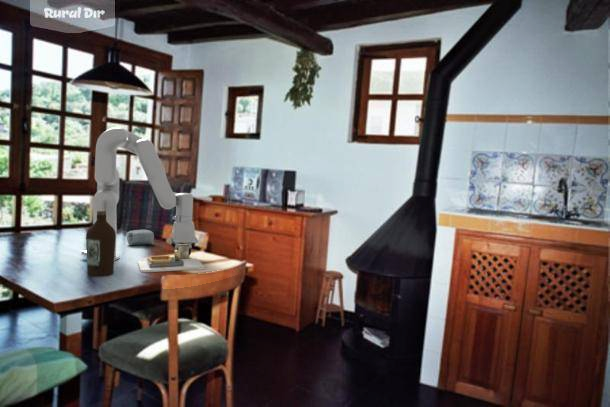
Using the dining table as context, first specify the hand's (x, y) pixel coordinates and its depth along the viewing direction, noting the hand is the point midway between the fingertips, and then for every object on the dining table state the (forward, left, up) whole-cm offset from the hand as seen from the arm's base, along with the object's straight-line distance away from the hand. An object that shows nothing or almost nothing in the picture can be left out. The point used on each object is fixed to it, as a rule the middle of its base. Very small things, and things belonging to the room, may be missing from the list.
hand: (182, 256), depth 203 cm
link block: (0, 0, -1) cm, 1 cm away
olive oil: (-36, -21, -1) cm, 42 cm away
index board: (-8, -15, -1) cm, 17 cm away
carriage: (-10, -15, 0) cm, 18 cm away
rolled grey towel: (-16, +35, -1) cm, 38 cm away
